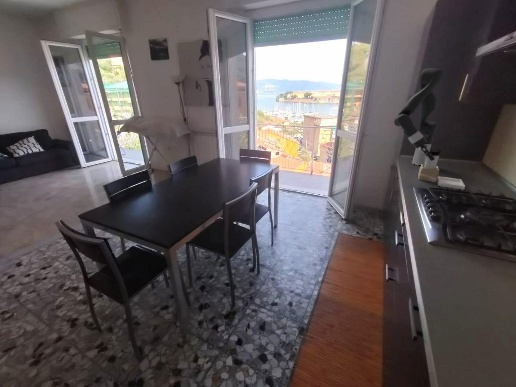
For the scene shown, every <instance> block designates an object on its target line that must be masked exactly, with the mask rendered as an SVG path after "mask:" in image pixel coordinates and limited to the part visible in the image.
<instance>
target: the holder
mask: <svg viewBox="0 0 516 387" xmlns="http://www.w3.org/2000/svg"><path fill="white" fill-rule="evenodd" d="M439 174H440V169H439V166H438V165H436V167H435V170H433V169H426V168H424V164H421V166H419V170H418V174H417V177H418V178H417V179H418V180H420V181H427V182H433V183H437V180H436V179H437V176H439Z"/></svg>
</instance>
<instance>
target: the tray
mask: <svg viewBox="0 0 516 387" xmlns="http://www.w3.org/2000/svg"><path fill="white" fill-rule="evenodd" d="M436 183H437V186H438V187H439V186H440V187H441V188H446V187H447V189H452V188H453V189H454V190H459V189H461V191H464V190H465V188H466V185H465V183H464V182H463V180H462V179H461V178H453V177H445V176H440V175H438V176H437V179H436Z"/></svg>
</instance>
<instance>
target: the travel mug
mask: <svg viewBox="0 0 516 387" xmlns="http://www.w3.org/2000/svg"><path fill="white" fill-rule="evenodd" d="M441 152H442V150H441V149H430V153H431V155H432V156H433V157H434V158H435V159H434V160H432V161H431V160H430V159H429V157H427V158H426V162H425V165H424V168H426V169H433V170H435V167H436V166H437V164H438V160H439V158H440V154H441ZM428 154H429V153H428Z"/></svg>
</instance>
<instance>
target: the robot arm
mask: <svg viewBox="0 0 516 387" xmlns="http://www.w3.org/2000/svg"><path fill="white" fill-rule="evenodd" d="M444 73H445V72H444V69H442V68H432V67H430V68H429V67H428V68H425V69H423V70H422V72H421V74H420V77H419V78H420V79H419V83H420V84H419V85H420V91H419V92H416V93H415V94H413V96H411V98H410V99H408V101H407V103H406V104H405V105H404V107H403V109H402V110H401V111H400V112H399V113H398V114H397V115H396V117H395V118H394V120H393V124H394V125H395V126H396V127H401V128H402V129H403V132H402V133H403V134H404V135H405V136H406V137H407V139H408V140H409V142H410V143H411V145H412V146H413V147H414V148H415V150H414V154H413V159H412V161H411V164H412V165H414V164H415V166H419V165H421V164H424V165H425V162H426V158H427V157H429V159H430V160H431V161H432V160H434V159H435V158H434V157H433V156H432V155H431V153H430V150H431V147H432V143H433V142H434V138H435V135H436V132H437V129H438V126H439V124H438V123H437V122H435V121H427V119H428V118H429V117H430V116H431V115H432V114H433V113H434V112H435V111H436V109H437V103H438V99H437V96H436V94H435V92H434V91H433V90H434V89H435V88H436V87H437V86H438V84H439V83H440V82H441V80H442V79H443V77H444ZM419 106H420V118H419V125H418V126H419V127H418V129H417V127H416V126H415V125H414V123H413V121H412V119H411V115H413V114H414V113H415V112H416V110H417V109H418V108H419ZM424 135H427V136H426V137H425V136H424ZM428 153H429V154H428Z"/></svg>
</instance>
